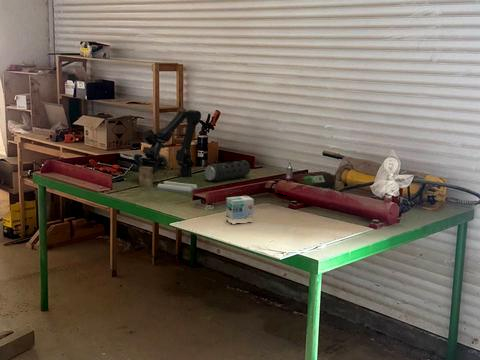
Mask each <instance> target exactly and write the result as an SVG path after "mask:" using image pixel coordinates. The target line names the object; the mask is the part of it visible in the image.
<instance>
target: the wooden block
mask: <svg viewBox="0 0 480 360" xmlns="http://www.w3.org/2000/svg"><path fill="white" fill-rule="evenodd" d="M153 169H154V167H152V166H151V167H150V166H144V165H143V166H142V167H139V172H138V183H139V185H138V186H140V187H141V186H142V187H148V188H149V187H153V186H154V174H152V172H153Z"/></svg>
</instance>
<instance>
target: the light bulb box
mask: <svg viewBox="0 0 480 360" xmlns="http://www.w3.org/2000/svg"><path fill="white" fill-rule="evenodd" d="M225 202H226V204H225V205H226V207H225V218H226V217H228V218H230V219H232V220H234V219H246V218H253V219H254V202H255V200H254V198H252V197H250V196H249V195H241V196H231V197H226V201H225Z"/></svg>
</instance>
